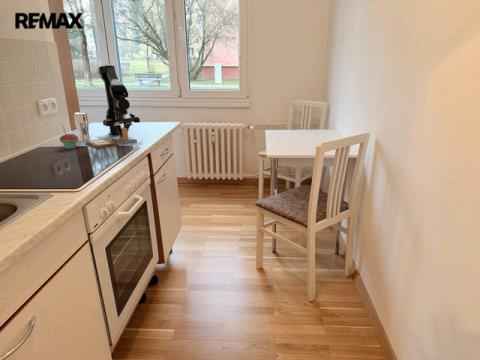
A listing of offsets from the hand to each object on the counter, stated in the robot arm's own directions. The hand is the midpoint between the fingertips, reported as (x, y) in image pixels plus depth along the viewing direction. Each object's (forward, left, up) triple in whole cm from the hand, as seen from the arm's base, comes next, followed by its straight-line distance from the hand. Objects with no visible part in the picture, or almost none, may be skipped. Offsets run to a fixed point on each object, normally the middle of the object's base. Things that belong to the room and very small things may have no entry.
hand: (123, 136), depth 183 cm
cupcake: (-6, -26, -3) cm, 27 cm away
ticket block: (0, -12, -2) cm, 13 cm away
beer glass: (-20, -14, -3) cm, 25 cm away
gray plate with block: (0, 0, -2) cm, 2 cm away
